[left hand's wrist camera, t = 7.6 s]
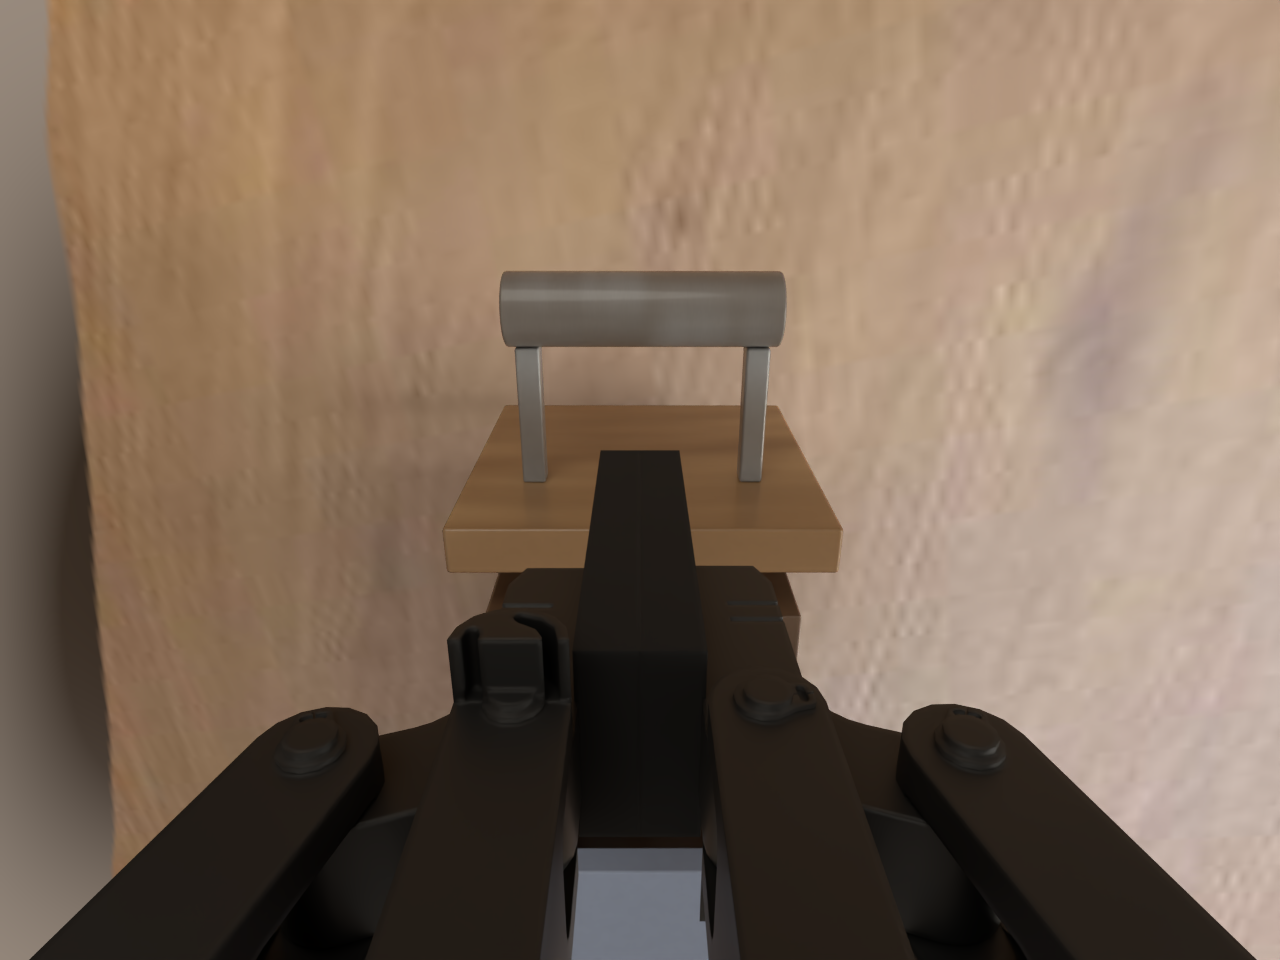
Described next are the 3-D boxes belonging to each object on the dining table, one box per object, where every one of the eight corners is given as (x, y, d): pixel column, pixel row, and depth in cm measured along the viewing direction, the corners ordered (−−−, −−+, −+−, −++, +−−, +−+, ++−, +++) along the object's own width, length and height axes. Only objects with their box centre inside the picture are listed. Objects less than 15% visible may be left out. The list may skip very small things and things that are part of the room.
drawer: (492, 240, 24) (413, 293, 16) (791, 240, 24) (873, 294, 16) (531, 777, 33) (495, 996, 25) (749, 777, 33) (787, 995, 25)
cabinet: (510, 635, 31) (449, 872, 21) (770, 635, 31) (834, 871, 21) (534, 934, 38) (497, 1218, 28) (745, 934, 38) (784, 1217, 28)
